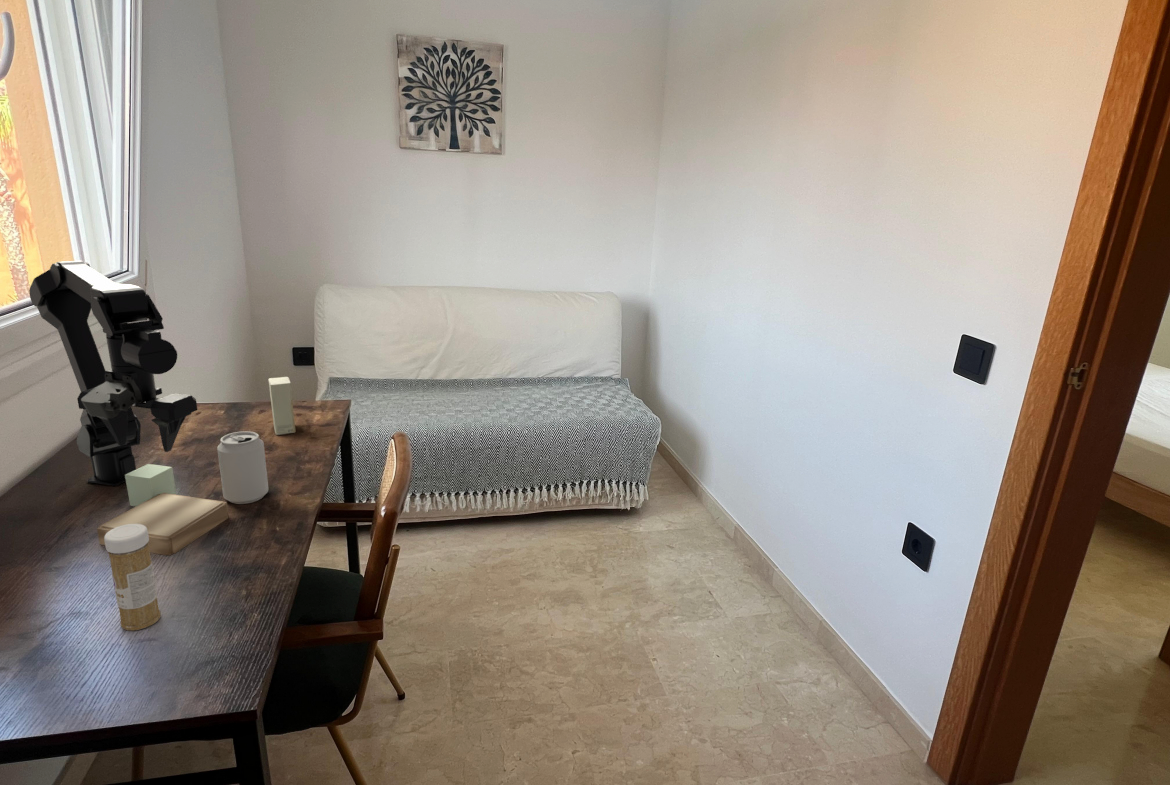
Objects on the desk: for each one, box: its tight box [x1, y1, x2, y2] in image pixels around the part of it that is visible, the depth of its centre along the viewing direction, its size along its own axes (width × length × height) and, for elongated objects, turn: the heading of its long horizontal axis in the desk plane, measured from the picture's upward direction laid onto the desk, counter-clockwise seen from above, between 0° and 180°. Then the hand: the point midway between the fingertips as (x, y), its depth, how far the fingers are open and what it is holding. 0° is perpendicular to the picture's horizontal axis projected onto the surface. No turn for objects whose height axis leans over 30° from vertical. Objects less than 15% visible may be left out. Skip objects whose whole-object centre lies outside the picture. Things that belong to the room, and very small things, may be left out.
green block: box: [125, 463, 177, 507], centre depth 118 cm, size 5×5×6 cm
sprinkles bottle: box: [104, 524, 162, 631], centre depth 85 cm, size 5×5×13 cm
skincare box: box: [268, 376, 296, 436], centre depth 153 cm, size 6×4×12 cm
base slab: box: [96, 493, 230, 557], centre depth 109 cm, size 13×13×3 cm
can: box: [216, 430, 269, 505], centre depth 120 cm, size 8×8×12 cm
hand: (145, 448), depth 116 cm, fingers open, 9 cm apart
